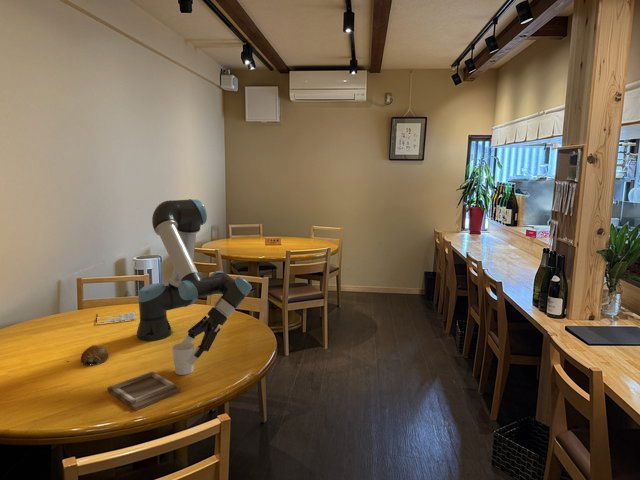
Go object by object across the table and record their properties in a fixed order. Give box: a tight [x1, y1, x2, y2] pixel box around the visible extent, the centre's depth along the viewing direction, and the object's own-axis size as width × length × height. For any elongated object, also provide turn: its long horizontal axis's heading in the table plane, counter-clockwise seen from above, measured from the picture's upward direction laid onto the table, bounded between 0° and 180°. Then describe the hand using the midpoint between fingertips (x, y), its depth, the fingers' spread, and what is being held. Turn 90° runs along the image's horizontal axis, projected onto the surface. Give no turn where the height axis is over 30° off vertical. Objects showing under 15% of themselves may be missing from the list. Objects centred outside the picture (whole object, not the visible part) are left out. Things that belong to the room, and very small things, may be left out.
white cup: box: [171, 342, 195, 376], centre depth 168 cm, size 8×8×10 cm
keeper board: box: [106, 370, 181, 411], centre depth 153 cm, size 20×16×2 cm
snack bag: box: [96, 311, 136, 323], centre depth 231 cm, size 19×20×2 cm
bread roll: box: [80, 344, 110, 366], centre depth 178 cm, size 10×10×8 cm
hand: (184, 357), depth 167 cm, fingers open, 13 cm apart
